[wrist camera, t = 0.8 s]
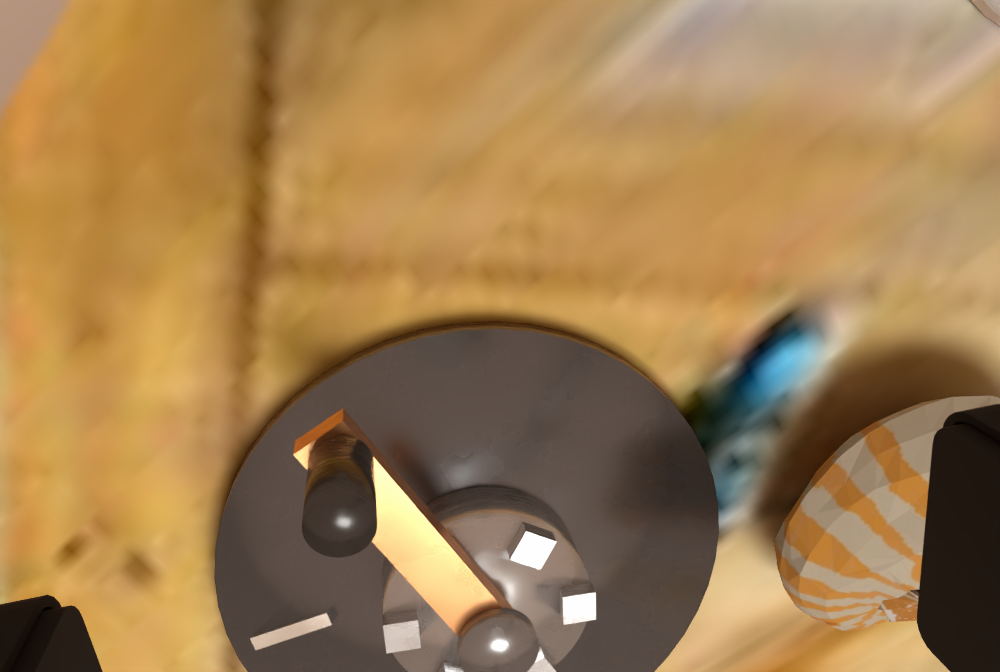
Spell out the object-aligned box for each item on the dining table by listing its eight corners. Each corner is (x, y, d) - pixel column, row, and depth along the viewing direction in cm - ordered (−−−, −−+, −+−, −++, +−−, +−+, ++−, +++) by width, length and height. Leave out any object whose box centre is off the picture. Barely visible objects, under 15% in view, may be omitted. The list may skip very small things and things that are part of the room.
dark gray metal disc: (554, 214, 37) (561, 221, 36) (784, 578, 47) (795, 592, 46) (101, 524, 39) (93, 540, 38) (416, 813, 49) (417, 834, 48)
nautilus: (1117, 439, 49) (962, 626, 53) (858, 314, 41) (704, 544, 45) (1252, 521, 42) (1062, 728, 46) (970, 388, 34) (775, 651, 38)
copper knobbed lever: (609, 582, 43) (674, 720, 35) (454, 682, 44) (479, 844, 35) (413, 324, 36) (432, 416, 28) (232, 448, 37) (195, 576, 28)
